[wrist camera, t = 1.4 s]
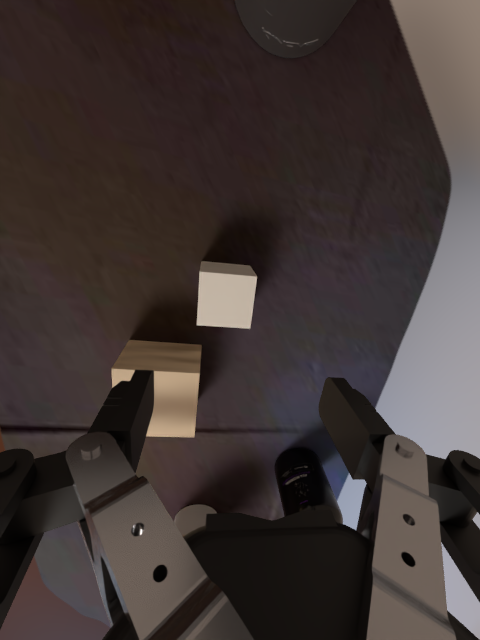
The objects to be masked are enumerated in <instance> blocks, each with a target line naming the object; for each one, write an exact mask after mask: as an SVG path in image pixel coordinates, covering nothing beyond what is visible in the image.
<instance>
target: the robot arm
mask: <svg viewBox="0 0 480 640" xmlns="http://www.w3.org/2000/svg"><path fill="white" fill-rule="evenodd" d="M356 1H357V0H235V4H236V8H237V11H238V13H239V16H240V18H241V21H242V23H243V25H244V26H245V28H246V29H247V31H248V33H249V34H250V36H251V37H252V38H253V39H254V40H255V41H256V42H257V43H258V44H259V45H260V46H261V47H262V48H264V49H265V50H267V51H268V52H270V53H271V54H274V55H277V56H280V57H284V58H297V57H302V56H306V55H308V54H310V53H312V52H314V51H316V50H317V49H319V48H320V47H321V46H322V45H323V44H324V43H326V42H327V41H328V40H329V38H330V37H331V36H332V34H333V33H334V32H335V31H336V29H337V28H338V26H339V25H340V24H341V22H342V21H343V19H344V18H345V16H346V15H347V14H348V12H349V11H350V9H351V8H352V7H353V5H354V4H355V3H356ZM153 408H154V371H153V370H135V371H134V374H133V376H132V378H131V380H130V381H120V382H119V383H118V384H117V385H115V386H114V387H113V388H112V389H111V391H110V393H109V395H108V397H107V399H106V400H105V402H104V404H103V406H102V408H101V409H100V411H99V413H98V415H97V417H96V419H95V420H94V422H93V424H92V426H91V428H90V430H89V431H88V433H87V434H85V435H83V436H81V437H79V438H78V439H76V440H75V441H74V442H73V443H71V445H70V446H69V447H68V449H67V450H66V451H63V452H61V453H57V454H53V455H49V456H45V457H40V458H36V459H34V457H33V454H32V453H31V452H30V451H28V450H26V449H11V450H7V451H4V452H1V453H0V629H1V627H2V624H3V622H4V620H5V618H6V616H7V613H8V611H9V609H10V607H11V605H12V602H13V600H14V598H15V596H16V593H17V591H18V589H19V587H20V585H21V583H22V580H23V578H24V576H25V574H26V572H27V569H28V567H29V565H30V563H31V560H32V558H33V556H34V554H35V552H36V549H37V547H38V545H39V543H40V541H41V538H42V536H43V534H44V532H47V531H50V530H52V529H55V528H58V527H61V526H64V525H67V524H70V523H73V522H76V521H77V522H78V525H79V528H80V531H81V534H82V536H83V539H84V542H85V545H86V548H87V551H88V554H89V557H90V560H91V563H92V565H93V568H94V572H95V575H96V578H97V582H98V586H99V590H100V594H101V597H102V600H103V604H104V607H105V610H106V613H107V616H108V618H109V621H110V624H111V628H110V630H109V631H108V632H107V634H106V635H105V637H104V638H103V639H102V640H479V639H478V638H477V637H475V636H474V634H473V633H471V632H470V631H469V630H468V629H467V628H466V627H465V626H464V625H463V624H461V623H460V622H459V621H458V620H457V619H456V618H455V617H454V616H452V615H451V614H450V613H449V612H448V611H447V605H446V593H445V581H444V570H443V558H442V547H441V542H442V544H443V545H444V547H445V548H446V550H447V551H448V553H449V555H450V556H451V558H452V559H453V561H454V563H455V564H456V566H457V567H458V569H459V570H460V572H461V574H462V575H463V577H464V578H465V580H466V581H467V583H468V584H469V586H470V588H471V589H472V591H473V592H474V594H475V596H476V597H477V599H478V600H479V602H480V529H479V528H478V527H477V525H476V524H475V523H474V522H473V520H472V519H473V518H474V516H475V515H476V513H477V512H478V513H479V514H480V459H479V458H477V457H476V456H473V455H471V454H469V453H467V452H464V451H459V450H454V451H451V452H450V453H449V455H448V456H447V458H446V459H442V458H438V457H434V456H430V455H426V454H425V452H424V451H423V449H422V448H421V447H420V446H419V445H417V444H416V443H415V442H413V441H412V440H410V439H408V438H406V437H403V436H400V435H396V434H395V433H394V432H393V430H392V429H391V428H390V427H389V426H388V424H387V423H386V422H385V421H384V419H383V418H382V417H381V416H380V415H379V413H378V412H376V410H375V408H374V407H373V406H371V403H370V402H369V401H368V400H367V398H366V397H365V396H364V395H362V394H361V393H360V392H358V391H357V390H356V389H352V387H351V386H350V385H349V383H348V382H347V381H346V380H345V379H344V378H330V377H328V378H327V379H326V380H325V383H324V387H323V391H322V395H321V398H320V402H319V414H320V417H321V419H322V421H323V423H324V425H325V427H326V429H327V431H328V433H329V435H330V436H331V438H332V440H333V442H334V444H335V446H336V448H337V450H338V452H339V454H340V456H341V458H342V460H343V462H344V463H345V465H346V467H347V469H348V471H349V473H350V475H351V477H352V479H365V481H366V483H367V484H366V487H365V490H364V494H363V500H362V505H361V510H360V516H359V521H358V525H357V530H354V529H352V528H350V527H348V526H346V525H343V524H341V523H338V522H336V521H335V518H334V516H333V513H332V511H331V510H315V511H300V512H297V513H294V514H292V515H289V516H286V517H283V518H280V519H277V520H273V521H271V520H266V519H262V518H258V517H254V516H250V515H246V514H242V513H214V514H206V524H205V526H202V527H199V528H197V529H195V530H193V531H191V532H189V533H188V534H186V535H185V536H182V535H181V533H180V531H179V530H178V528H177V527H176V525H175V523H174V522H173V520H172V519H171V517H170V515H169V514H168V512H167V511H166V509H165V507H164V506H163V504H162V503H161V501H160V499H159V498H158V496H157V495H156V493H155V491H154V490H153V488H152V487H151V485H150V483H149V482H148V480H147V479H146V478H145V477H144V476H142V477H140V478H138V477H137V476H136V474H135V473H136V469H137V466H138V462H139V459H140V455H141V452H142V448H143V445H144V441H145V438H146V434H147V431H148V427H149V424H150V420H151V417H152V413H153Z"/></svg>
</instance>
